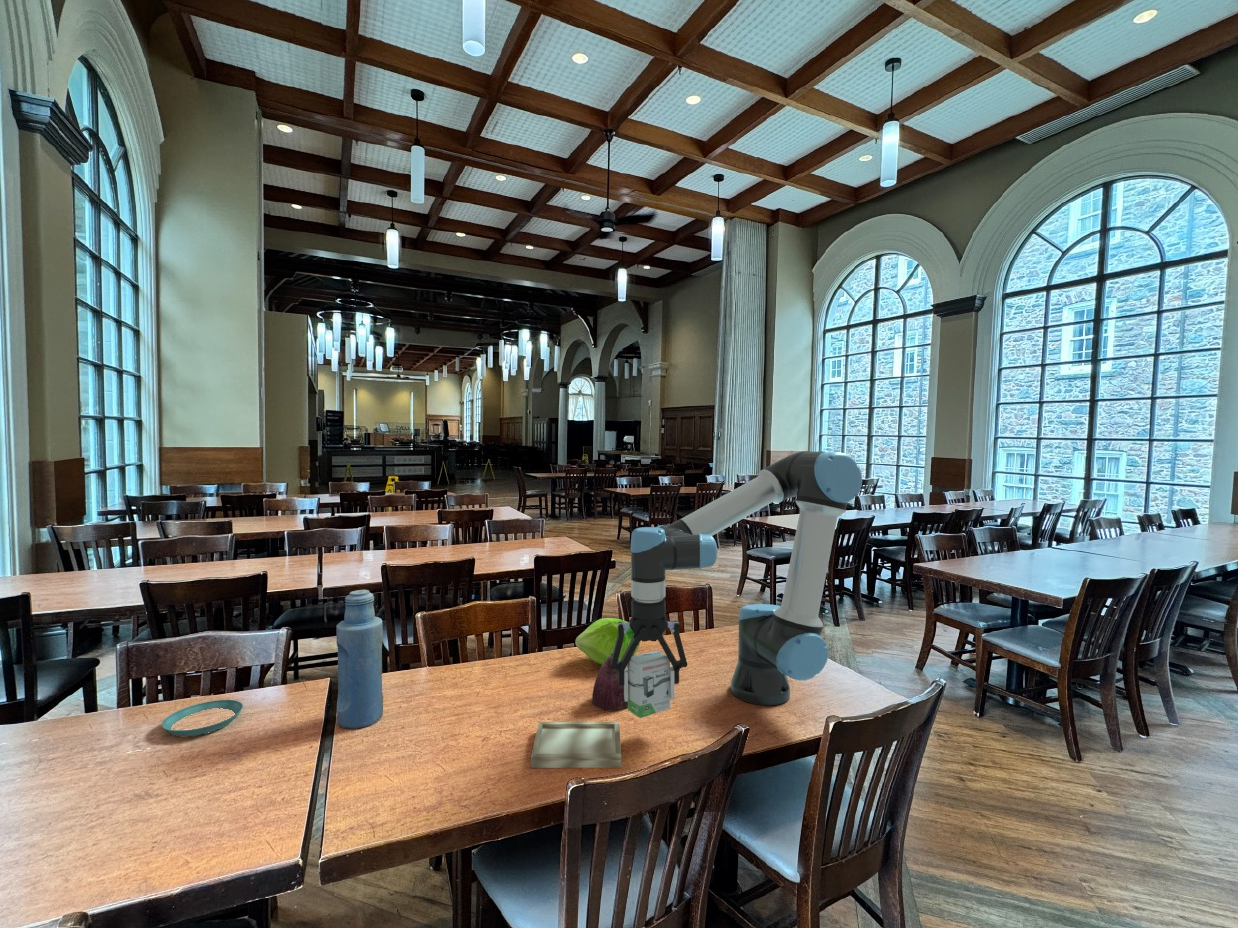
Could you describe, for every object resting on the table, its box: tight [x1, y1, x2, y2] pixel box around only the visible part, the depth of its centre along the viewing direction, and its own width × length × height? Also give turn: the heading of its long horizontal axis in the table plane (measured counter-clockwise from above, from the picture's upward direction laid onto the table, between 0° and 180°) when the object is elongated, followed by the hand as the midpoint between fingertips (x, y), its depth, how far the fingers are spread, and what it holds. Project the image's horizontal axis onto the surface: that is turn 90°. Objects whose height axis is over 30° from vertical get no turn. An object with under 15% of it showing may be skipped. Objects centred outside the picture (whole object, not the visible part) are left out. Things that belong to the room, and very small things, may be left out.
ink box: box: [627, 650, 671, 719], centre depth 122 cm, size 9×5×12 cm, turn 122°
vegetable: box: [591, 653, 628, 712], centre depth 138 cm, size 10×10×15 cm
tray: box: [530, 721, 622, 769], centre depth 117 cm, size 18×14×2 cm
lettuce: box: [575, 617, 641, 666], centre depth 164 cm, size 15×20×14 cm
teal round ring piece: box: [161, 699, 244, 737], centre depth 125 cm, size 15×15×3 cm
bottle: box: [336, 589, 384, 730], centre depth 128 cm, size 10×10×30 cm
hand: (649, 698), depth 122 cm, fingers closed on ink box, 9 cm apart
